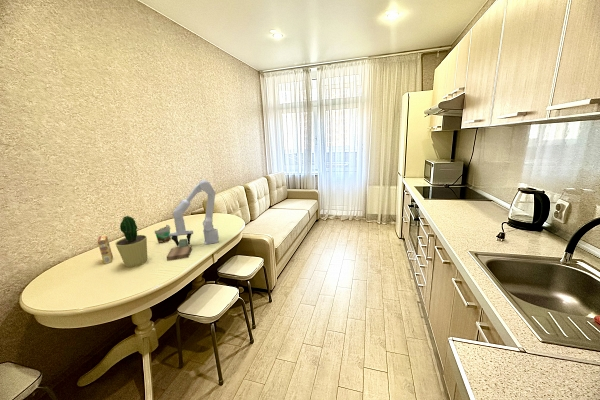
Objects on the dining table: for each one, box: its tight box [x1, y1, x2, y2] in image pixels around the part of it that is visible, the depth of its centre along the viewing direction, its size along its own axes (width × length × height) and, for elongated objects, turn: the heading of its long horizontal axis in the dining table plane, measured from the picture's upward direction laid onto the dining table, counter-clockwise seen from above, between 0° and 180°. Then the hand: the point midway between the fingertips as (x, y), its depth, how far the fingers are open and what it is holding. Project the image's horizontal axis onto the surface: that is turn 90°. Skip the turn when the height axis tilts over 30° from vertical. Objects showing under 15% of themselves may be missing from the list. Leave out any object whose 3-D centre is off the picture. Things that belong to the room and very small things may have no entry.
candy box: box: [97, 234, 114, 265], centre depth 147 cm, size 9×4×15 cm, turn 35°
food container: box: [154, 224, 172, 244], centre depth 175 cm, size 12×6×10 cm, turn 168°
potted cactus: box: [114, 215, 148, 268], centre depth 141 cm, size 15×15×30 cm
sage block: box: [178, 238, 189, 248], centre depth 163 cm, size 4×4×5 cm
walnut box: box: [166, 245, 192, 261], centre depth 152 cm, size 12×12×3 cm
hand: (183, 245), depth 163 cm, fingers open, 6 cm apart
